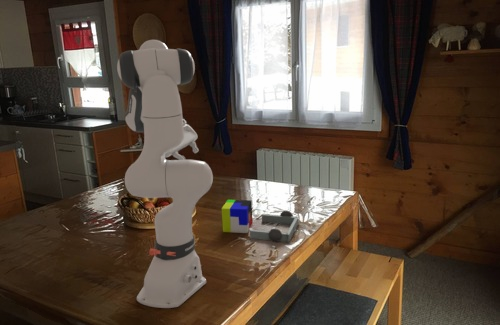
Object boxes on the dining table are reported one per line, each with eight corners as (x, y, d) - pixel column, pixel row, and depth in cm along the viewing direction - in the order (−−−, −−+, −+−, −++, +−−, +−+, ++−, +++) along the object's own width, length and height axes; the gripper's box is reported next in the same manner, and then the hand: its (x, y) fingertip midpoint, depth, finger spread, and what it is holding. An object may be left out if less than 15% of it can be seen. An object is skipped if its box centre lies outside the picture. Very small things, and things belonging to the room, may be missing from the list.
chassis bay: (288, 243, 157) (288, 230, 156) (249, 239, 161) (248, 227, 160) (299, 222, 175) (298, 211, 173) (263, 219, 179) (263, 208, 178)
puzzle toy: (247, 233, 167) (246, 209, 165) (222, 232, 169) (221, 208, 167) (252, 223, 177) (251, 200, 174) (229, 222, 179) (227, 199, 176)
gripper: (155, 133, 160) (179, 161, 160) (186, 118, 177) (208, 143, 176) (147, 142, 164) (170, 170, 164) (179, 126, 180) (200, 151, 180)
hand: (190, 156), depth 170 cm, fingers open, 8 cm apart
